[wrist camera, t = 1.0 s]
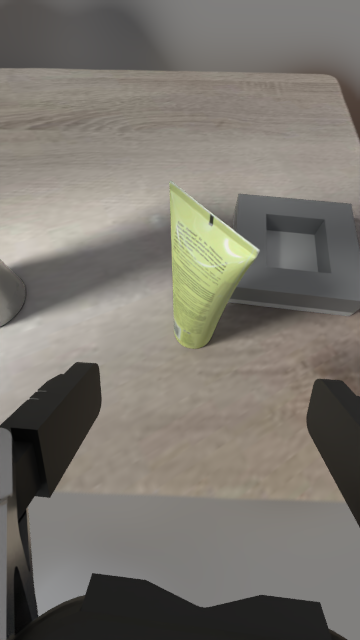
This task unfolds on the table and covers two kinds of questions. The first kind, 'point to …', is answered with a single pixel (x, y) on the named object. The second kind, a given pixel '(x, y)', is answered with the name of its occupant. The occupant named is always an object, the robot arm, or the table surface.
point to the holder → (299, 255)
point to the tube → (203, 267)
